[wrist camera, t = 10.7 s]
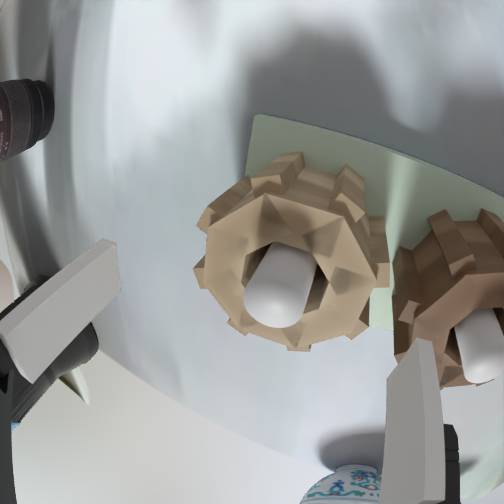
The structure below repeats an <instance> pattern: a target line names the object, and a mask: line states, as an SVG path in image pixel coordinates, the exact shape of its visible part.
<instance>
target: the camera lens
mask: <svg viewBox="0 0 504 504" xmlns="http://www.w3.org/2000/svg"><path fill="white" fill-rule="evenodd" d="M53 115H54V106H53V98H52V94H51V91H50V89H49V87H48V86H47V84H46V83H44V82H43V81H40V80H36V81H32V80H30V79H22V80H9V81H5V82H0V161H1V160H5V159H7V158H10V157H12V156H15V155H17V154H19V153H21V152H23V151H25V150H26V149H29V148H31V147H32V146H34V145H35V143H36V142H37V141H39V140H42V139H43V138H45V137H46V136H47V134H48V133H49V131H50V129H51V126H52V122H53Z"/></svg>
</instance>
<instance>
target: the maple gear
mask: <svg viewBox="0 0 504 504" xmlns="http://www.w3.org/2000/svg"><path fill="white" fill-rule="evenodd" d="M196 226H197V227H198V228H200V229H201V230H202V231H204V232H205V233H206V234H207V244H206V255H205V256H204V257H203V258H202V259H201V260H200V261H199V262H198V263H197V265H196V266H195V267H194V268H193V270H194V273H195V276H196V278H197V281H198V284H199V287H200V289H208V290H209V291H210V293H211V294H212V295H213V296H214V298H215V299H216V300H217V302H218V303H219V304H220V306H221V307H222V308H223V309H224V311H225V312H226V313H227V315H228V316H229V317H230V319H229V321H228V322H227V323H228V324H229V325H230V326H232V327H233V328H235V329H236V330H237V331H239V332H240V333H242V334H243V335H245V336H246V335H247V334H248V333H252V334H254V335H257V336H260V337H263V338H266V339H269V340H272V341H275V342H277V343H280V344H283V345H286V346H287V351H306V352H310V348H311V344H314V343H318V342H321V341H325V340H328V339H332V338H335V337H338V336H342V335H345V336H347V337H348V338H350V339H351V340H352V339H353V338H355V337H356V336H357V335H359V334H360V333H361V332H363V331H364V330H365V329H367V328H368V327H369V310H370V294H371V292H372V290H373V288H388V287H390V258H389V251H388V244H387V237H386V230H385V224H384V218H383V216H368V214H367V212H366V210H365V193H364V178H363V177H362V176H361V175H359V174H358V173H357V172H356V171H354V170H353V169H352V168H351V167H349V166H348V165H347V164H346V165H345V166H344V167H343V168H342V170H341V171H340V172H339V173H338V174H337V175H335V174H331V173H328V172H325V171H321V170H318V169H314V168H311V167H307V166H305V161H304V155H303V151H302V152H294V153H286V154H281V155H280V156H278V157H277V158H276V159H274V160H273V161H272V162H271V163H269V164H268V165H267V166H266V167H264V168H263V169H262V170H260V171H259V172H258V173H257V174H255V175H254V176H253V177H252V178H251V177H249V176H248V175H247V176H246V177H244V178H243V179H242V180H240V181H239V182H238V183H236V184H235V185H234V186H232V187H231V188H230V189H228V190H227V191H226V192H225V193H223V194H222V195H221V196H219V197H218V198H217V199H216V200H214V201H213V202H212V203H211V204H209V205H208V206H207V207H206V209H205V211H204V213H203V214H202V216H201V218H200V220H199V221H198V223H197V225H196ZM274 241H277V242H280V243H283V244H286V245H289V246H293V247H296V248H299V249H302V250H305V251H308V252H311V253H312V254H313V256H314V258H315V259H316V261H317V262H318V264H317V268H316V271H315V275H314V278H313V282H312V285H311V289H310V292H309V295H308V299H307V302H306V305H305V309H304V312H303V315H302V317H301V318H300V320H299V321H298V322H297V323H295V324H294V325H292V326H289V327H284V328H274V327H269V326H266V325H264V324H262V323H260V322H258V321H257V320H255V319H254V318H253V317H252V316H251V315H250V314H249V313H248V311H247V310H246V308H245V306H244V303H243V293H244V290H245V288H246V286H247V285H248V283H249V281H250V280H251V278H252V276H253V274H254V273H255V271H256V269H257V268H258V266H259V264H260V263H261V261H262V259H263V258H264V256H265V254H266V253H267V251H268V249H269V248H270V246H271V244H272V243H273V242H274Z"/></svg>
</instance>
